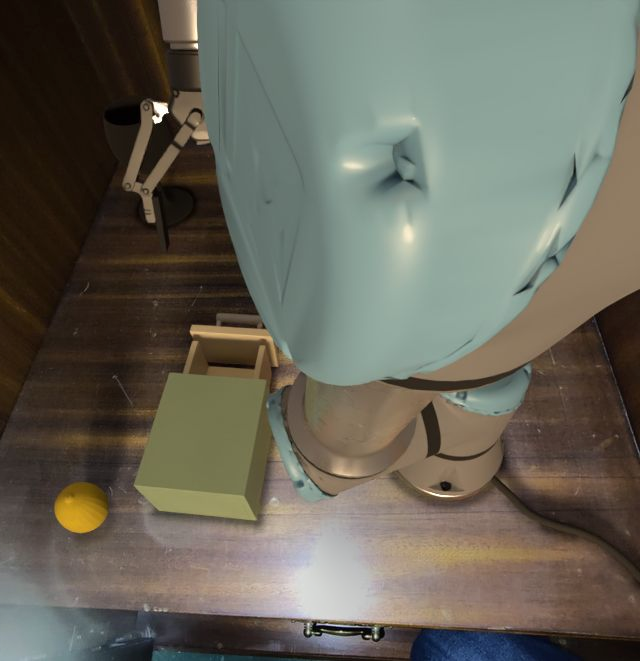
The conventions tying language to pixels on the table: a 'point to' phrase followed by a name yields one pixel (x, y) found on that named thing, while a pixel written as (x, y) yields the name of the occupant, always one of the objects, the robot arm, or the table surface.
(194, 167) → the table surface
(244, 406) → the cabinet
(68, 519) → the lemon
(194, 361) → the drawer
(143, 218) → the wine glass
